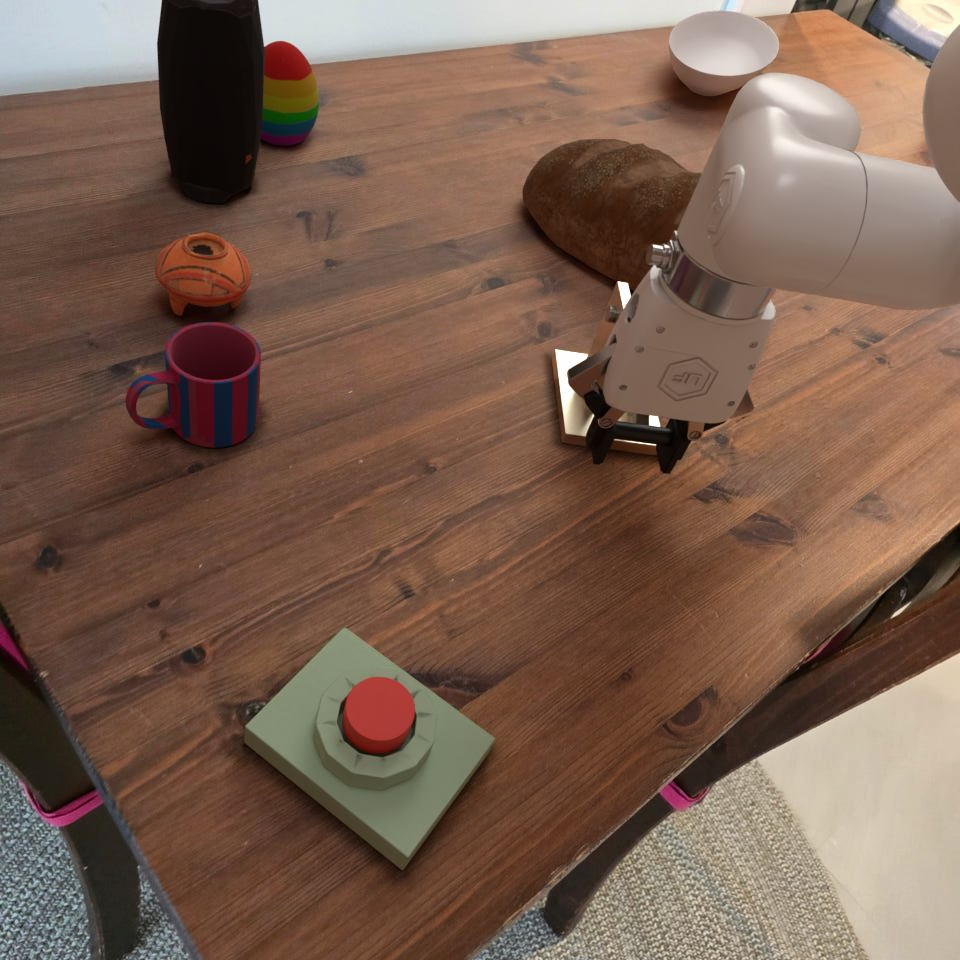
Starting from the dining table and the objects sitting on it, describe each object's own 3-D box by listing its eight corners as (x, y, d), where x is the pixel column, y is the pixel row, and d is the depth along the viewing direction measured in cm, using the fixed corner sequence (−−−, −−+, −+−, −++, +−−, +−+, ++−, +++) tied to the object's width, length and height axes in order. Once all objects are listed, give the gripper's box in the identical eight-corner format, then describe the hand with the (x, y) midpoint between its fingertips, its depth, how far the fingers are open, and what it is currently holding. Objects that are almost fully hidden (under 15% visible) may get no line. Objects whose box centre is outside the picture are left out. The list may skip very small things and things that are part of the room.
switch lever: (664, 450, 71) (676, 441, 69) (605, 442, 71) (615, 432, 68) (664, 315, 75) (676, 302, 73) (608, 306, 74) (618, 292, 72)
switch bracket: (660, 456, 77) (715, 354, 69) (561, 443, 76) (604, 337, 67) (642, 372, 85) (689, 270, 76) (551, 358, 83) (589, 253, 75)
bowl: (724, 132, 125) (743, 90, 120) (630, 89, 128) (644, 46, 123) (779, 73, 144) (797, 35, 140) (697, 37, 147) (711, -1, 143)
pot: (137, 278, 78) (150, 209, 74) (223, 285, 82) (240, 220, 78) (162, 334, 73) (178, 264, 69) (252, 337, 78) (272, 272, 74)
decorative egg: (250, 108, 101) (252, 18, 94) (321, 124, 102) (329, 36, 95) (233, 143, 96) (234, 50, 89) (309, 159, 97) (316, 69, 90)
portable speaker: (274, 197, 91) (284, -3, 76) (188, 214, 86) (181, 4, 72) (234, 154, 94) (237, -45, 80) (149, 168, 89) (135, -41, 75)
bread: (721, 357, 89) (772, 263, 81) (488, 219, 97) (513, 121, 88) (776, 295, 99) (826, 206, 91) (561, 175, 107) (590, 83, 98)
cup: (272, 434, 69) (276, 369, 64) (144, 471, 64) (138, 404, 60) (237, 379, 73) (238, 313, 68) (112, 410, 68) (103, 342, 63)
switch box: (488, 753, 56) (503, 725, 53) (402, 871, 50) (413, 846, 47) (341, 643, 59) (347, 610, 56) (243, 742, 53) (244, 711, 50)
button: (424, 717, 52) (429, 704, 51) (382, 768, 50) (386, 755, 49) (371, 678, 53) (374, 663, 52) (327, 725, 51) (330, 711, 50)
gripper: (604, 286, 55) (530, 478, 68) (853, 328, 58) (735, 504, 71) (591, 219, 60) (524, 410, 73) (821, 261, 63) (716, 437, 76)
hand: (629, 455), depth 72 cm, fingers closed on switch lever, 5 cm apart
